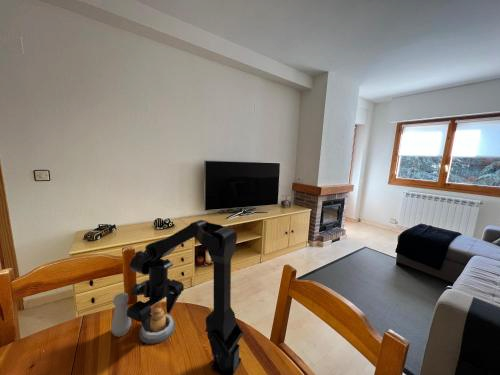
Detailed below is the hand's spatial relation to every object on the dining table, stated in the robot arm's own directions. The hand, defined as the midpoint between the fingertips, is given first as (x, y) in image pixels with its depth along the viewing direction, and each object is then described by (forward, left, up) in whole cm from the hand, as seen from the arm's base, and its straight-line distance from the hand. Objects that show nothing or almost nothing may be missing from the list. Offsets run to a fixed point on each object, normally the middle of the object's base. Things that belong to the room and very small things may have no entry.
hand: (158, 321), depth 72 cm
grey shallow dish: (0, 0, -3) cm, 3 cm away
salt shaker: (+10, +6, -4) cm, 12 cm away
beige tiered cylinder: (0, 0, -2) cm, 2 cm away
